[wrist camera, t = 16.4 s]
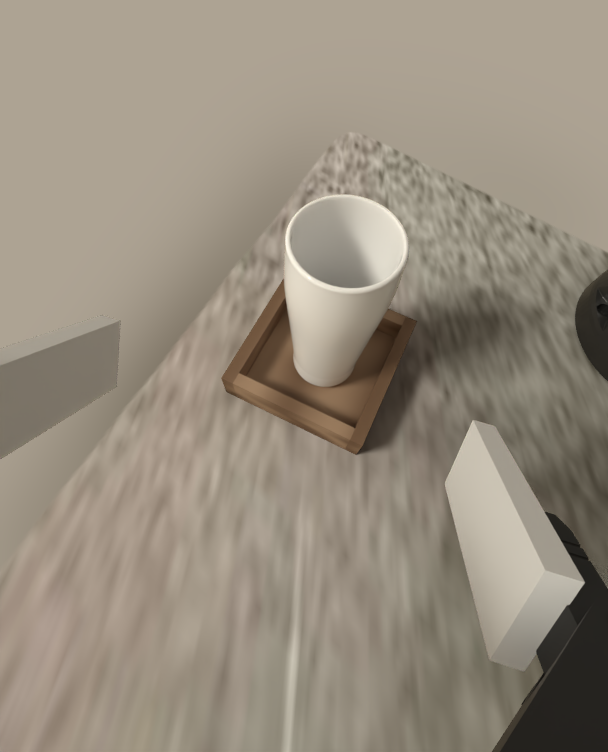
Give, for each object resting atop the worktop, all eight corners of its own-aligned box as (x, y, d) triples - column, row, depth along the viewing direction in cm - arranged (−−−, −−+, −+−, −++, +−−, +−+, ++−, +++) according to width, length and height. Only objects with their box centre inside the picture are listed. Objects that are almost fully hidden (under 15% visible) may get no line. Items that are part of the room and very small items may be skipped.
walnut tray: (407, 338, 37) (416, 321, 35) (356, 454, 33) (362, 445, 30) (290, 287, 39) (290, 267, 36) (226, 391, 35) (221, 378, 32)
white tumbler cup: (316, 313, 37) (334, 173, 23) (378, 355, 36) (435, 233, 22) (268, 365, 35) (256, 245, 21) (331, 413, 33) (363, 317, 20)
